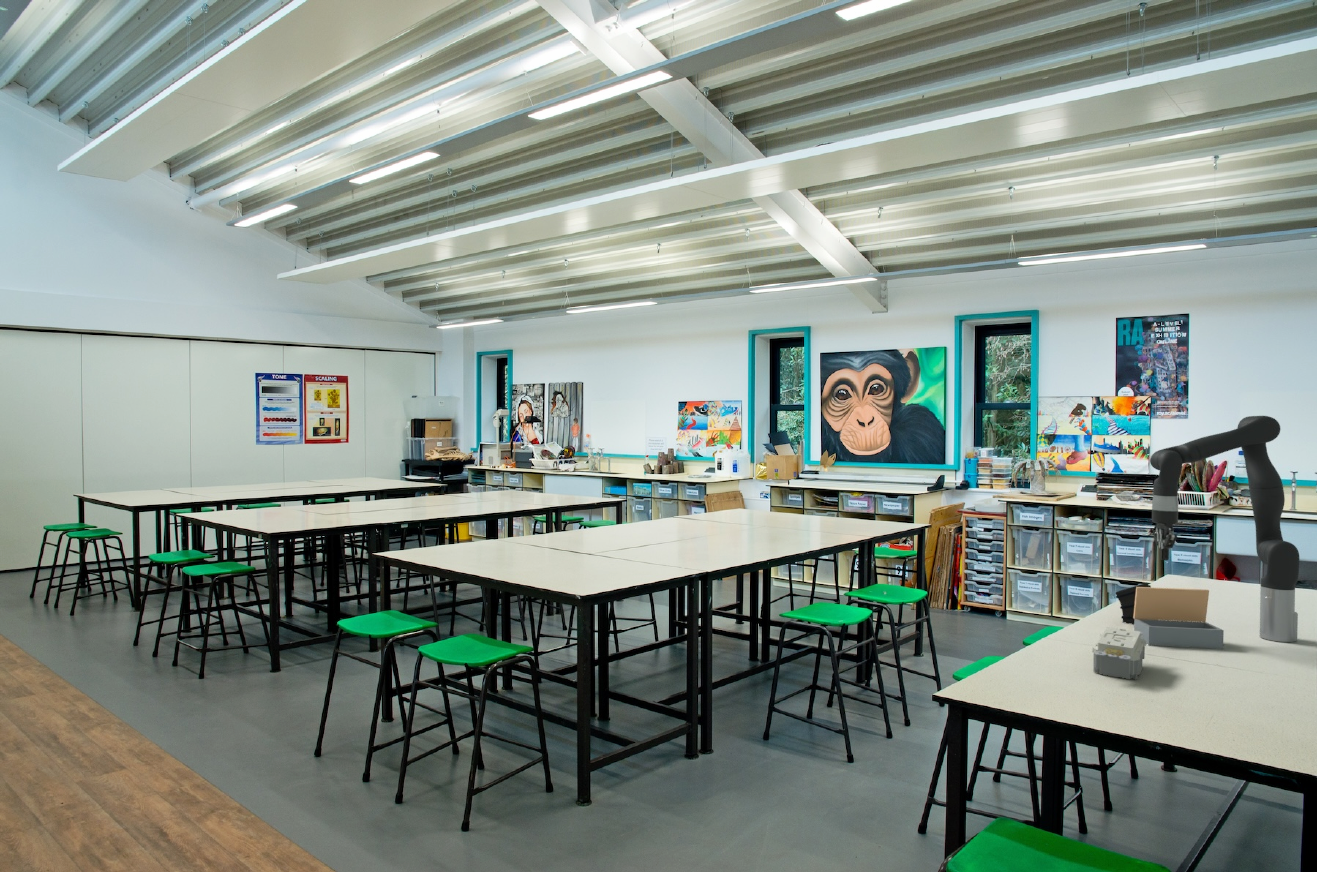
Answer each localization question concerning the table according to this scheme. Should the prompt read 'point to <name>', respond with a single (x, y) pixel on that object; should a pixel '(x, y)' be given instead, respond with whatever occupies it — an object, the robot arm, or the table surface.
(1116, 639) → the electrical outlet
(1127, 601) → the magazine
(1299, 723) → the table surface
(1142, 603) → the tan flat rectangular panel
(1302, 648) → the table surface
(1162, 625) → the grey rectangular box
